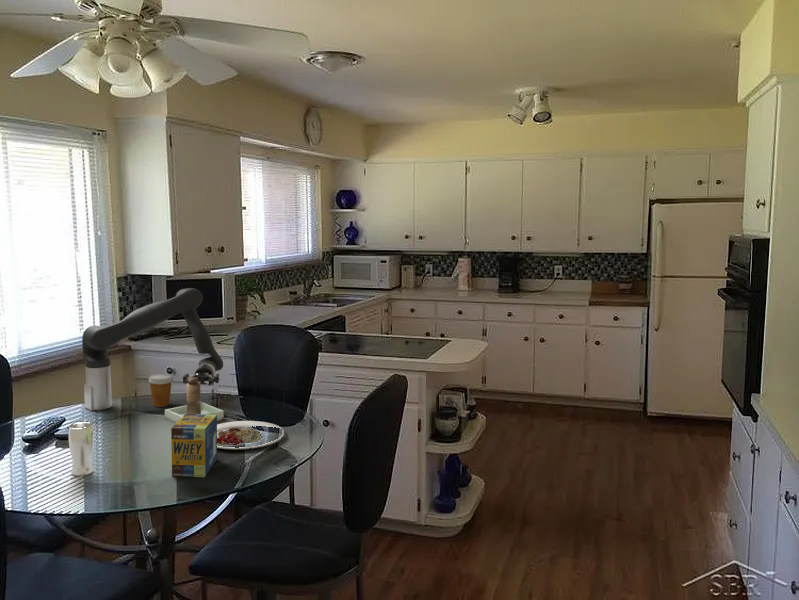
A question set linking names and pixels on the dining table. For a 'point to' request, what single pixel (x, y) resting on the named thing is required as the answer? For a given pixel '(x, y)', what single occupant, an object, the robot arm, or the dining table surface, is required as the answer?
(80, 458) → the beer glass
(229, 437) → the plated food
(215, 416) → the protein box
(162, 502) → the dining table surface
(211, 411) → the bin
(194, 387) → the pepper mill
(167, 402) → the disposable coffee cup
